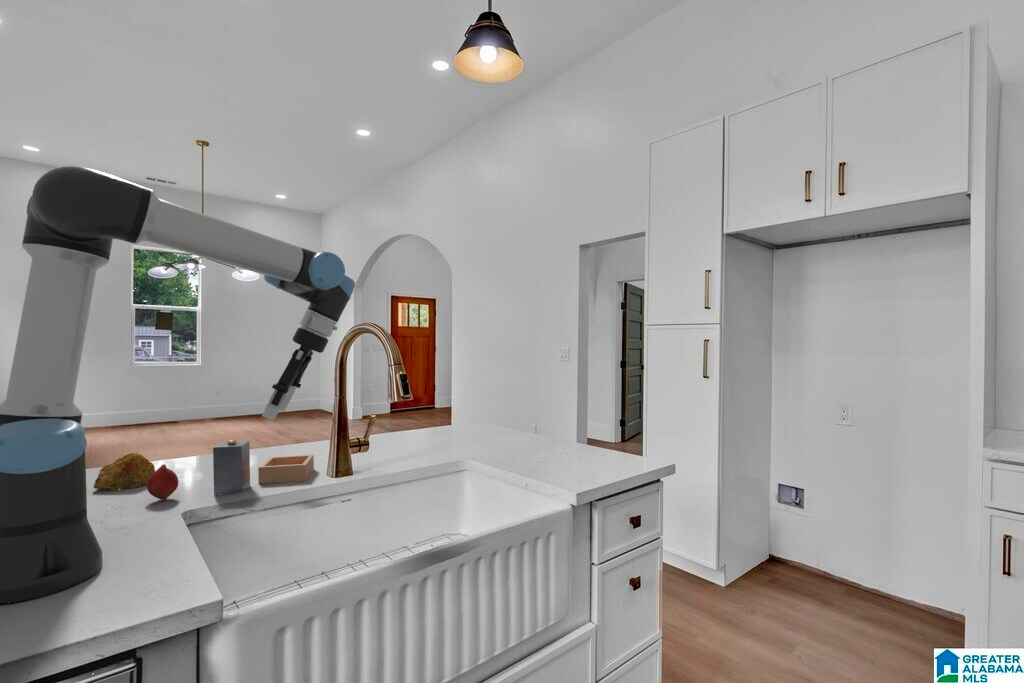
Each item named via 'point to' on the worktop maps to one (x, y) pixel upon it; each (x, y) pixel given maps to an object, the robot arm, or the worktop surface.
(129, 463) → the rock
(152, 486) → the onion
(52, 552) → the robot arm
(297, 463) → the tray
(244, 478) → the block
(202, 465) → the worktop surface
